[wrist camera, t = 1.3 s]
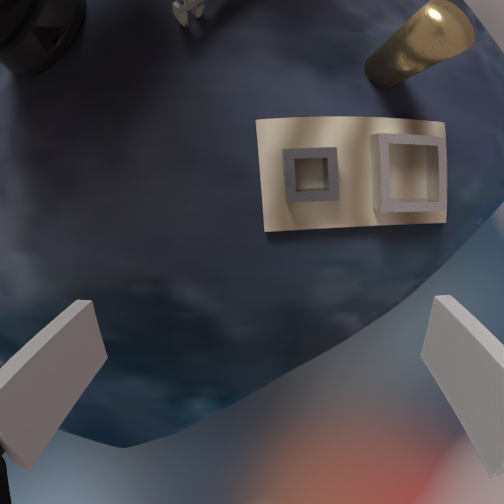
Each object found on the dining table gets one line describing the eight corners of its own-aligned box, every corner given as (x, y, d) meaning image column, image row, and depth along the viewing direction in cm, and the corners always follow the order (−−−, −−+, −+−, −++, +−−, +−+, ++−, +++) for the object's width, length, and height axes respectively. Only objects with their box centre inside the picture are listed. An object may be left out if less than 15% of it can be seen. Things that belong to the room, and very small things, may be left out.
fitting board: (438, 123, 30) (457, 120, 26) (440, 220, 33) (458, 228, 29) (256, 121, 32) (254, 116, 27) (264, 228, 35) (264, 238, 31)
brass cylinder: (362, 52, 28) (419, -7, 13) (396, 56, 28) (466, 6, 13) (367, 87, 30) (432, 43, 14) (401, 89, 29) (479, 55, 14)
